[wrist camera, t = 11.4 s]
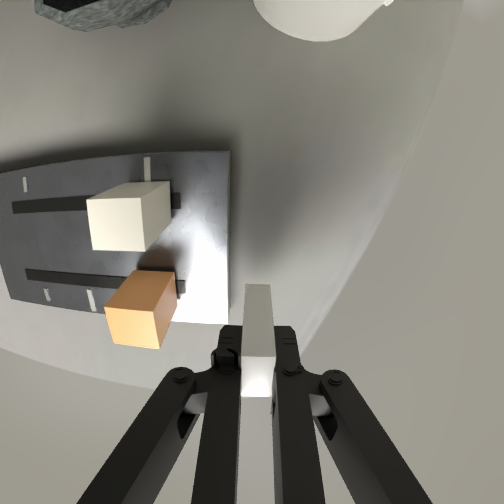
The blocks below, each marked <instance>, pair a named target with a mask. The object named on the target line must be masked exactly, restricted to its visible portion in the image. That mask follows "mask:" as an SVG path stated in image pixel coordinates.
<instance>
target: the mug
mask: <svg viewBox="0 0 504 504" xmlns="http://www.w3.org/2000/svg"><path fill="white" fill-rule="evenodd" d="M393 1H394V0H253V3H254V5H255V7H256V9H257V11H258V12H259V14H260V15H261V16H262V17H263V18H264V20H266V21H267V22H268V23H269V24H270V25H271V26H273V27H274V28H276V29H278V30H279V31H281V32H283V33H285V34H287V35H290V36H292V37H295V38H299V39H302V40H308V41H317V42H319V41H332V40H337V39H340V38H343V37H346V36H348V35H349V34H351V33H352V32H354V31H355V30H356V29H357V28H358V27H359V26H360V25H361V24H362V23H363V22H364V21H365V20H366V19H367V18H368V17H370V16H371V15H372V14H373V13H374V12H375V11H376V10H377V9H378V8H379V7H380V6H381V5H383V4H384V5H385V6H386V7H387V6H388V5H389V4H391V3H392V2H393Z"/></svg>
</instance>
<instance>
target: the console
mask: <svg viewBox="0 0 504 504" xmlns="http://www.w3.org/2000/svg"><path fill="white" fill-rule="evenodd" d="M230 154H231V151H173V152H152V153H137V154H124V155H113V156H103V157H94V158H86V159H78V160H70V161H63V162H57V163H50V164H44V165H39V166H33V167H28V168H22V169H17V170H13V171H8V172H3V173H0V264H1V268H2V272H3V275H4V279H5V282H6V285H7V288H8V291H9V294H10V297H11V299H15V300H20V301H25V302H30V303H36V304H41V305H47V306H53V307H59V308H66V309H72V310H79V311H86V312H93V313H101V314H106V313H105V309H104V306H105V305H106V304H107V302H108V301H109V300H110V299H111V297H112V296H113V295H114V294H115V292H116V291H117V290H118V288H119V287H120V286H121V285H122V283H123V282H124V281H125V280H126V278H127V277H128V276H129V275H130V274H131V272H132V271H133V270H142V271H161V272H174V274H175V285H176V294H177V304H178V306H177V308H176V311H175V313H174V315H173V318H172V320H171V321H180V322H194V323H211V324H228V320H229V312H230ZM160 181H170V205H171V224H170V225H169V226H168V227H167V228H166V229H165V230H164V231H163V232H162V233H161V235H160V236H159V237H158V238H157V239H156V240H155V241H154V242H153V243H152V245H151V246H150V247H149V248H148V249H147V250H146V251H145V252H139V251H110V250H93V247H92V241H91V234H90V227H89V219H88V211H87V202H86V200H87V199H89V198H91V197H93V196H96V195H98V194H100V193H102V192H105V191H107V190H109V189H112V188H114V187H116V186H119V185H121V184H123V183H132V182H160Z"/></svg>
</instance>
